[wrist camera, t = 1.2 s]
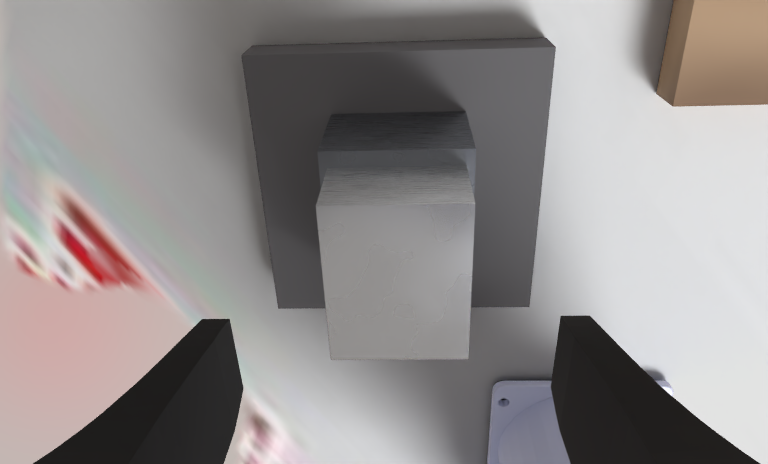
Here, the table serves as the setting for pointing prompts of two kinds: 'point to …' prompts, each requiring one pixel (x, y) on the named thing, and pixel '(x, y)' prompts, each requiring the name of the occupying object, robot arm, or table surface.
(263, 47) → the stand
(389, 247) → the housing
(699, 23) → the stand
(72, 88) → the table surface
